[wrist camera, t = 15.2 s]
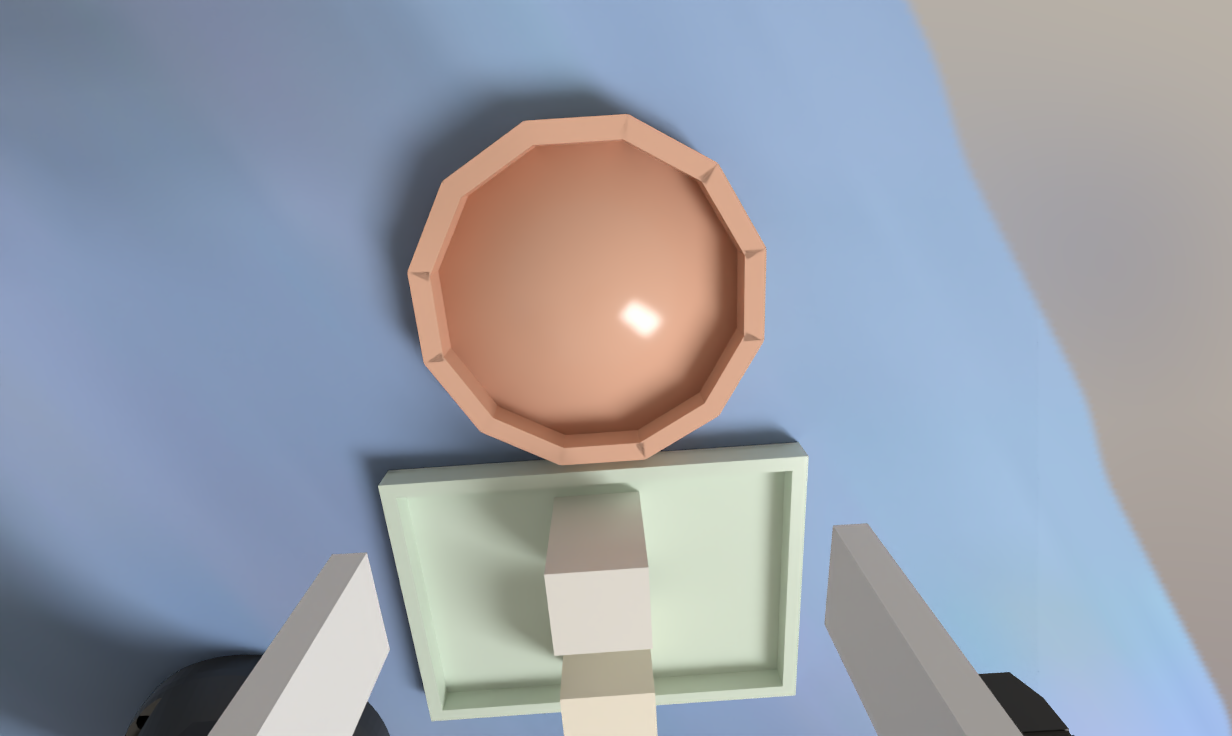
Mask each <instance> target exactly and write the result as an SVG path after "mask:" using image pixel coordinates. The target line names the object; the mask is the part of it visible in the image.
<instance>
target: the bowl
mask: <svg viewBox="0 0 1232 736" xmlns="http://www.w3.org/2000/svg"><path fill="white" fill-rule="evenodd" d="M407 274H408V279H409V285H410V290H411V296H412V301H413V307H414V312H415V318H416V323H417V329H418V334H419V340H420V345H421V350H422V356H423V361H424V363H425V365H426V367H427V368H428V369H429V370H430V371H431V373H432V374H433V375H434V376H435V377H436V379H437V380H438V381H439V382H440V384H441V385H442V386H443V387H444V388H445V390H446V391H447V392H448V393H449V394H450V396H451V397H452V398H453V399H454V400H455V402H456V403H457V404H458V405H459V406H460V408H461V409H462V410H463V411H464V412H465V414H466V415H467V416H468V417H469V418H470V420H471V421H472V422H473V423H474V425H475V426H476V427H477V428H478V429H479V431H480V432H482V433H484V434H487V435H489V436H491V437H494V438H496V439H499V440H501V441H503V442H506V443H508V444H510V445H513V446H515V447H518V448H520V449H522V450H525V451H527V452H530V453H532V454H534V455H537V456H539V457H541V458H544V459H546V460H549V461H551V462H553V463H556V464H558V465H560V464H561V465H574V464H589V463H603V462H618V461H633V460H645V459H647V458H649V457H651V456H652V455H654V454H656V453H657V452H659V451H661V450H662V449H664V448H666V447H667V446H669V445H671V444H672V443H674V442H676V441H677V440H679V439H681V438H682V437H684V436H686V435H687V434H689V433H691V432H692V431H694V430H696V429H697V428H699V427H701V426H702V425H704V424H706V423H707V422H709V421H711V420H712V419H714V418H716V417H718V415H720V413H721V411H722V410H723V408H724V406H725V405H726V403H727V401H728V400H729V398H730V396H731V395H732V393H733V391H734V390H735V388H736V386H737V385H738V383H739V381H740V380H741V378H742V376H743V375H744V373H745V371H746V370H747V368H748V366H749V365H750V363H751V361H752V360H753V358H754V356H755V355H756V353H757V351H758V350H759V348H760V346H761V345H762V343H763V341H764V325H765V284H766V247H765V245H764V243H763V241H762V240H761V238H760V236H759V234H758V233H757V231H756V229H755V227H754V226H753V224H752V222H751V220H750V219H749V217H748V215H747V213H746V211H745V210H744V208H743V206H742V204H741V203H740V201H739V199H738V197H737V196H736V194H735V192H734V190H733V189H732V187H731V185H730V183H729V181H728V180H727V178H726V176H725V174H724V173H723V171H722V169H721V167H720V166H719V164H717V162H715V161H713V160H711V159H710V158H708V157H706V156H704V155H702V154H700V153H699V152H697V151H695V150H693V149H691V148H689V147H688V146H686V145H684V144H682V143H680V142H678V141H677V140H675V139H673V138H671V137H669V136H667V135H666V134H664V133H662V132H660V131H658V130H656V129H655V128H653V127H651V126H649V125H647V124H645V123H644V122H642V121H640V120H638V119H636V118H634V117H633V116H631V115H629V114H628V116H627V114H619V115H604V116H589V117H574V118H558V119H543V120H528V121H523V122H521V123H520V124H519V125H517V126H516V127H515V128H513V129H512V130H511V131H509V132H508V133H507V134H505V135H504V136H503V137H501V138H500V139H499V140H497V141H496V142H494V143H493V144H492V145H490V146H489V147H488V148H486V149H485V150H484V151H482V152H481V153H480V154H478V155H477V156H476V157H474V158H473V159H472V160H470V161H469V162H467V163H466V164H465V165H463V166H462V167H461V168H459V169H458V170H457V171H455V172H454V173H453V174H451V175H450V176H449V177H447V178H446V179H445V180H443V182H442V183H441V185H440V188H439V190H438V193H437V196H436V198H435V201H434V203H433V206H432V209H431V211H430V214H429V217H428V219H427V222H426V224H425V227H424V230H423V232H422V235H421V237H420V240H419V243H418V245H417V248H416V251H415V253H414V256H413V258H412V261H411V264H410V266H409V269H408V273H407Z"/></svg>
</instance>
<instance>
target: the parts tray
mask: <svg viewBox="0 0 1232 736" xmlns="http://www.w3.org/2000/svg"><path fill="white" fill-rule="evenodd" d="M807 473H808V455H807V454H806V452H805V451H804V449H803V448H802V447H801V445H800V444H799V442H795V443H781V444H766V445H751V446H737V447H722V448H708V449H693V450H679V451H664V452H657V453H656V454H654V455H652V456H651V457H649V458H647V459H645V460H633V461H618V462H603V463H589V464H574V465H561V464H560V465H558V464H556V463H553V462H551V461H549V460H533V461H519V462H504V463H490V464H475V465H461V466H446V467H431V468H417V469H402V470H388V472H387V473H386V475H385V476H384V478H383V479H382V481H381V482H380V484H379V485H378V488H379V493H380V497H381V502H382V506H383V510H384V515H385V519H386V523H387V528H388V532H389V537H390V541H391V545H392V550H393V554H394V559H395V563H396V567H397V572H398V576H399V580H400V585H401V589H402V594H403V598H404V602H405V607H406V611H407V616H408V620H409V624H410V629H411V633H412V638H413V642H414V646H415V651H416V655H417V659H418V664H419V668H420V673H421V677H422V681H423V686H424V690H425V695H426V699H427V703H428V708H429V712H430V717H431V721H442V720H456V719H470V718H484V717H498V716H512V715H526V714H540V713H554V712H561V705H560V690H561V676H562V663H563V655H560V656H554V650H553V642H552V634H551V626H550V618H549V610H548V602H547V594H546V586H545V578H544V572H545V564H546V557H547V549H548V542H549V534H550V527H551V519H552V512H553V504H554V497H565V496H579V495H594V494H608V493H623V492H637V491H639V494H640V502H641V510H642V519H643V527H644V535H645V543H646V551H647V559H648V567H649V586H650V605H651V624H652V643H653V649H650V650H651V659H652V669H653V678H654V687H655V701H656V705H666V704H680V703H694V702H708V701H722V700H736V699H750V698H764V697H778V696H792V695H795V692H796V674H797V656H798V637H799V619H800V601H801V583H802V564H803V546H804V528H805V510H806V491H807Z"/></svg>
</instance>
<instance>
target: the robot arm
mask: <svg viewBox="0 0 1232 736" xmlns="http://www.w3.org/2000/svg"><path fill="white" fill-rule="evenodd" d="M825 626H826V628H827V630H828V632H829V635H830V637H831V639H832V641H833V643H834V645H835V647H836V649H837V651H838V653H839V655H840V657H841V660H842V662H843V664H844V666H845V668H846V670H847V672H848V674H849V676H850V678H851V680H852V682H853V684H854V687H855V689H856V691H857V693H858V695H859V697H860V699H861V701H862V703H863V705H864V707H865V709H866V711H867V714H868V716H869V718H870V720H871V722H872V724H873V726H874V728H875V730H876V732H877V734H878V736H1074V735H1071V734H1070V733H1069V729H1068V727H1067V726H1066V725H1065V724H1064V723H1063V721H1062V720H1061V719H1060V718H1059V717H1058V715H1057V714H1056V713H1055V712H1054V710H1053V709H1052V708H1051V707H1050V706H1049V704H1048V703H1047V702H1046V701H1045V700H1044V698H1043V697H1041V696H1040V695H1039V694H1037V693H1036V692H1035V691H1033V690H1032V689H1031V688H1029V687H1028V686H1027V685H1026V684H1024V683H1023V682H1022V681H1020V680H1019V679H1018V678H1016V677H1015V676H1014V675H1012V674H1011V673H1010V672H1005V673H988V674H978V673H977V672H976V671H975V669H974V668H973V667H972V665H971V664H970V662H969V661H968V660H967V658H966V657H965V656H964V654H963V653H962V652H961V650H960V649H959V647H958V646H957V645H956V643H955V642H954V641H953V639H952V638H951V637H950V635H949V634H948V633H947V631H946V630H945V628H944V627H943V626H942V624H941V623H940V622H939V620H938V619H937V618H936V616H935V615H934V613H933V612H932V611H931V609H930V608H929V607H928V605H927V604H926V603H925V601H924V600H923V598H922V597H921V596H920V594H919V593H918V592H917V590H916V589H915V588H914V586H913V585H912V583H911V582H910V581H909V579H908V578H907V577H906V575H905V574H904V573H903V571H902V570H901V568H900V567H899V566H898V564H897V563H896V562H895V560H894V559H893V558H892V556H891V555H890V553H889V552H888V551H887V549H886V548H885V547H884V545H883V544H882V543H881V541H880V540H879V539H878V537H877V536H876V534H875V533H874V532H873V530H872V529H871V528H870V526H869V525H868V524H850V525H833V531H832V543H831V554H830V566H829V578H828V589H827V601H826V612H825ZM389 650H390V648H389V644H388V640H387V636H386V632H385V627H384V623H383V619H382V615H381V610H380V606H379V602H378V598H377V593H376V589H375V585H374V581H373V577H372V572H371V568H370V564H369V560H368V555H367V553H351V554H334V555H332V556H331V557H330V558H329V560H328V561H327V563H326V564H325V566H324V567H323V569H322V570H321V572H320V573H319V574H318V576H317V577H316V579H315V580H314V582H313V583H312V585H311V586H310V587H309V589H308V590H307V592H306V593H305V595H304V596H303V598H302V599H301V601H300V602H299V603H298V605H297V606H296V608H295V609H294V611H293V612H292V614H291V615H290V617H289V618H288V619H287V621H286V622H285V624H284V625H283V627H282V628H281V630H280V631H279V633H278V634H277V635H276V637H275V638H274V640H273V641H272V643H271V644H270V646H269V647H268V648H267V650H266V651H265V653H264V654H263V655H232V656H223V657H217V658H212V659H208V660H204V661H201V662H198V663H195V664H192V665H190V666H188V667H185V668H183V669H181V670H180V671H178V672H176V673H174V674H173V675H171V676H170V677H169V678H167V679H166V680H165V681H164V682H162V683H161V684H160V685H159V686H158V687H157V688H156V690H155V691H154V692H153V693H152V694H151V696H150V697H149V698H148V699H147V700H146V701H145V703H144V704H143V705H142V706H141V708H140V709H139V711H138V712H137V714H136V715H135V717H134V718H133V720H132V722H131V724H130V726H129V728H128V730H127V733H126V735H125V736H390V735H389V733H388V730H387V728H386V726H385V724H384V722H383V721H382V719H381V717H380V716H379V714H378V713H377V712H376V711H375V709H374V708H373V707H372V706H371V705H370V704H369V702H368V698H369V696H370V694H371V692H372V689H373V687H374V685H375V682H376V680H377V678H378V676H379V673H380V671H381V669H382V666H383V664H384V662H385V659H386V657H387V655H388V653H389Z"/></svg>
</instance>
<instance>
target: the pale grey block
mask: <svg viewBox="0 0 1232 736" xmlns="http://www.w3.org/2000/svg"><path fill="white" fill-rule="evenodd" d="M544 578H545V586H546V594H547V602H548V610H549V618H550V626H551V634H552V642H553V650H554V656H560V655H574V654H588V653H602V652H616V651H630V650H644V649H653V643H652V624H651V605H650V586H649V567H648V559H647V551H646V543H645V535H644V527H643V519H642V510H641V502H640V494H639V491H637V492H623V493H608V494H594V495H579V496H565V497H554V504H553V512H552V519H551V527H550V534H549V542H548V549H547V557H546V564H545V572H544Z"/></svg>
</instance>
